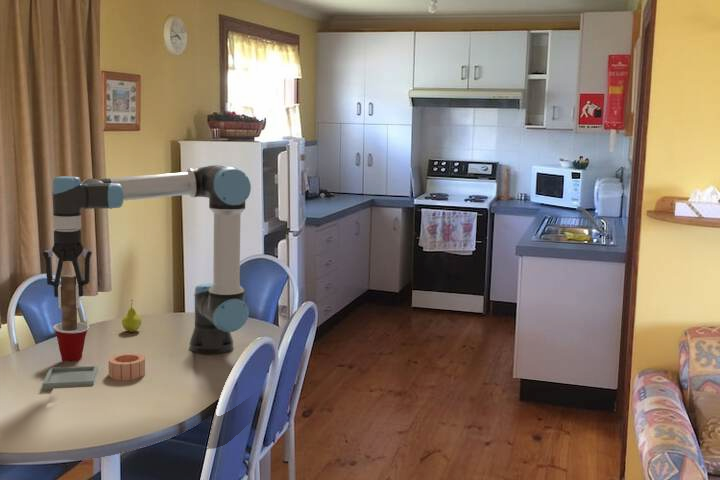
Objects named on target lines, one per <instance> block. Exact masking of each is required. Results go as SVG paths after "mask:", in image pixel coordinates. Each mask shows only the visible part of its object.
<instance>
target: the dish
mask: <svg viewBox="0 0 720 480" xmlns="http://www.w3.org/2000/svg"><path fill="white" fill-rule="evenodd" d="M98 372H99V365H97V364H96V365H81V366H79V365H77V366H57V367H49V369H48V371H47V373H46V375H45V377H44V380H43V381H42V391H47V392H48V391H53V389H54V388H63V387H81V386H94V385H95V383H96V382H95V381H96V378H97V374H98Z"/></svg>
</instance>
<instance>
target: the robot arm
mask: <svg viewBox="0 0 720 480" xmlns="http://www.w3.org/2000/svg"><path fill="white" fill-rule="evenodd" d="M251 190H252V185H251V181H250V178H249V177H248V175H247V174H246V173H245V172H244V171H242V170H241V169H239V168H237V167H234V166H228V165H222V164H213V165H208V166H200V167H195V168H188V169H187V170H186V171H183V172H172V173H170V172H169V173H159V174H145V175H144V174H143V175H135V176H134V175H133V176H122V177H121V176H120V177H110V178H109V177H108V178H86V179H85V180H83V181H81V178H80V177H78V176H73V175H72V176H69V175H68V176H67V175H65V176H63V175H62V176H61V175H60V176H55V177H54V178H53V179H52V191H51V194H52V221H53V224H52V225H53V229H54V231H53V246H52V248H51V249H48V250H47V249H46V250H44V251H43V254H42V255H43V257H44V259H45V270H46V273H45V274H46V283H47V285H50V286H53V293H54V295H53V296H54V297H55V298H57V299H58V301H57V302H58V304H57V305H58V309H59V310H60V309H61V310H62V300H61V276H62V274H63V273H62V272H63V269H64V263H65V262H67V261H68V262H71V263H72V266H73V270H74V275H75V276H76V283H77V284H76V308H77V309H79V308H80V307H81V303H80V302H81V300H80V298H82V297H83V296H84V286H85V285H89V283H90V282H91V281H90V279H91V257H92V254H93V250H90V249H86V248H84V246H83V244H82V231H81V228H82V213H81V212H82V210H87V209H89V210H90V209H91V210H92V209H94V210H95V209H99V210H100V209H110V210H112V209H119V208H121V207H122V206H123V204H124V201H135V200H145V199H147V200H148V199H155V198H166V197H177V196H189V197H190V198H208V199H209V200H208V202H209V204H208V206H209V207H208V208H209V210H211V212H213V267H212V268H213V273H212V275H213V278H212V280H213V281H212V282H213V283H212V282H211V283H203V284H197V285H196V286H195V288H194V294H193V296H194V328H193V331H192V334H191V337H190V339H189V340H190V341H189V351H191V352H193V353H196V354H201V355H217V354H218V355H219V354H224V353H228V352H230V351H232V350H233V349H234V339H233V335H232V334H231V333H233V332H236V331H238V330H240V329H241V328H242V327H244V326H245V325H246V323H247V321H248V319H249V315H250V313H249V306H248V305H247V304H246V302H245V289H244V287H242V286H241V283H240V282H241V281H240V274H241V268H240V267H241V215H242V213H243V212H244V210H246V201H247V199H248V198H249V196H250V195H251ZM53 254H54V255H55V256H56V257H57V259H58V263H57V267H56V273H55V277H54V278H53V265H52V264H53V263H52V261H53V260H52V257H53ZM81 254H83V255H82V256H83V257H84V279H83V276H82V271H81V268H80V264H79V259H78V258H79V257H80V256H81ZM53 279H54V280H53Z"/></svg>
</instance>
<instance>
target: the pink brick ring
mask: <svg viewBox="0 0 720 480" xmlns="http://www.w3.org/2000/svg"><path fill="white" fill-rule="evenodd" d="M107 362H108V378H110V379H112V380H115V381H130V380H131V381H132V380H137V379H140V378H142V377H144V376H145V375H146V356H145V355H143V354H141V353H135V352H125V353H119V354H114V355H112V356H110V357H109V358H108V361H107Z"/></svg>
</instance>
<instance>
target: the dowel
mask: <svg viewBox="0 0 720 480" xmlns="http://www.w3.org/2000/svg"><path fill="white" fill-rule="evenodd" d="M60 285H61V300H62V308H61V323H62V330H64V331H72V330H76V329H77V322H78V308H76V285H77V278H76V274H65V275H61V278H60Z"/></svg>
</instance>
